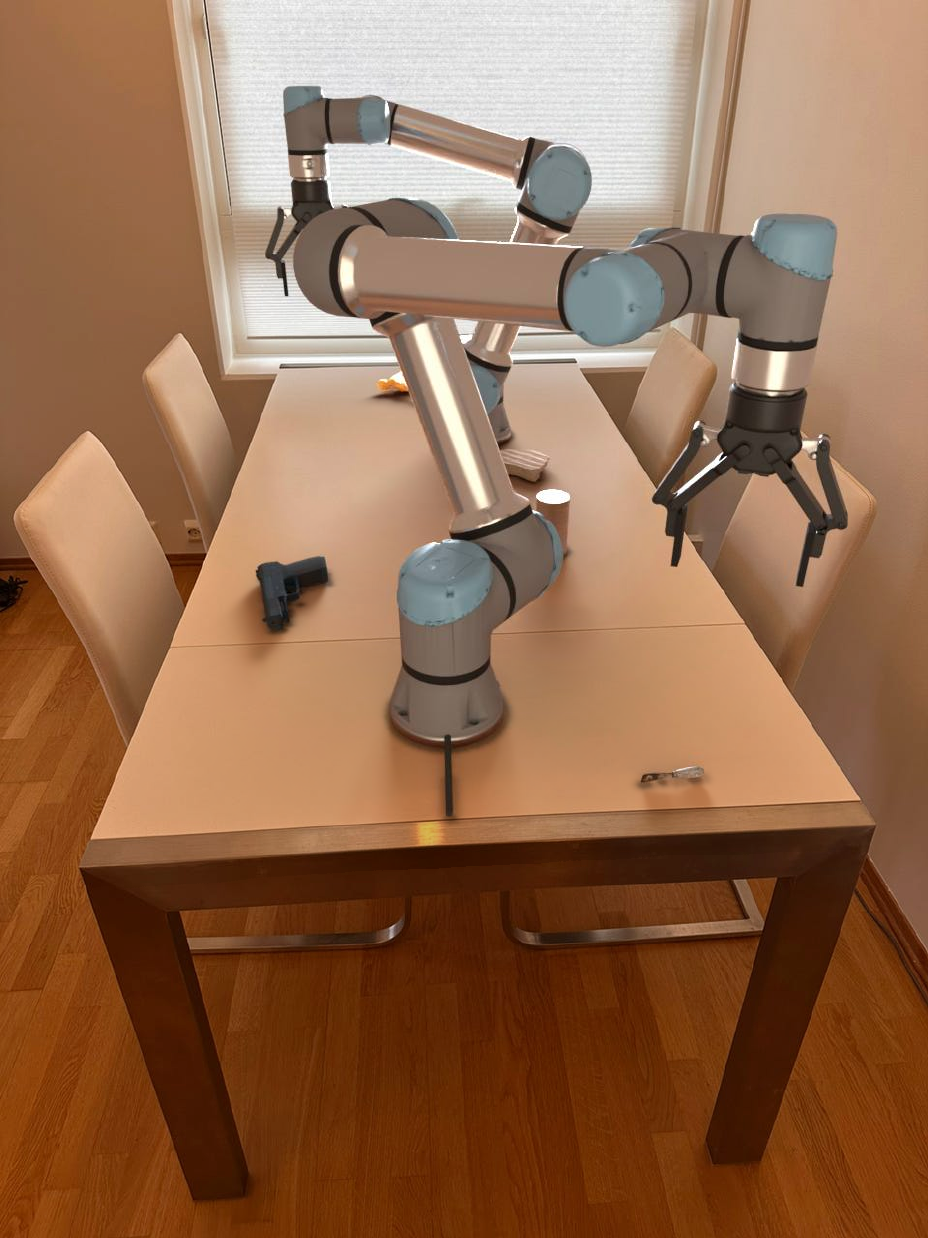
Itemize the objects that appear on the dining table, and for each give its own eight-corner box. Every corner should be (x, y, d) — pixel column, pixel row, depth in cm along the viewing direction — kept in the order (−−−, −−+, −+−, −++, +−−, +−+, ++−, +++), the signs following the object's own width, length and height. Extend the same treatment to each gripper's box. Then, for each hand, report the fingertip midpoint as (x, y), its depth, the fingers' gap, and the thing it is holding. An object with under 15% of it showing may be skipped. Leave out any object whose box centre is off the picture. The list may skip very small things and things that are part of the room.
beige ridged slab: (554, 462, 195) (554, 451, 194) (536, 482, 186) (537, 471, 185) (499, 454, 200) (499, 444, 198) (479, 474, 190) (479, 463, 189)
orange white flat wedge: (371, 392, 238) (370, 377, 236) (413, 371, 252) (412, 357, 250) (432, 405, 230) (432, 390, 227) (472, 383, 244) (472, 369, 241)
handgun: (340, 621, 141) (263, 633, 138) (325, 568, 155) (255, 578, 152) (339, 604, 139) (261, 615, 136) (323, 552, 153) (252, 561, 151)
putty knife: (703, 777, 109) (705, 767, 109) (642, 788, 108) (644, 777, 107) (700, 772, 110) (702, 762, 109) (639, 782, 109) (640, 771, 108)
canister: (544, 540, 164) (547, 487, 159) (572, 548, 161) (575, 494, 156) (528, 552, 160) (530, 498, 155) (556, 561, 157) (559, 506, 152)
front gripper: (902, 386, 88) (854, 573, 100) (651, 363, 96) (633, 539, 107) (906, 409, 82) (854, 606, 94) (637, 383, 90) (620, 568, 101)
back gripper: (244, 182, 167) (258, 300, 178) (376, 178, 171) (382, 294, 182) (244, 178, 173) (257, 292, 184) (372, 174, 177) (378, 286, 189)
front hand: (736, 571), depth 100 cm, fingers open, 13 cm apart
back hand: (320, 293), depth 183 cm, fingers open, 13 cm apart
